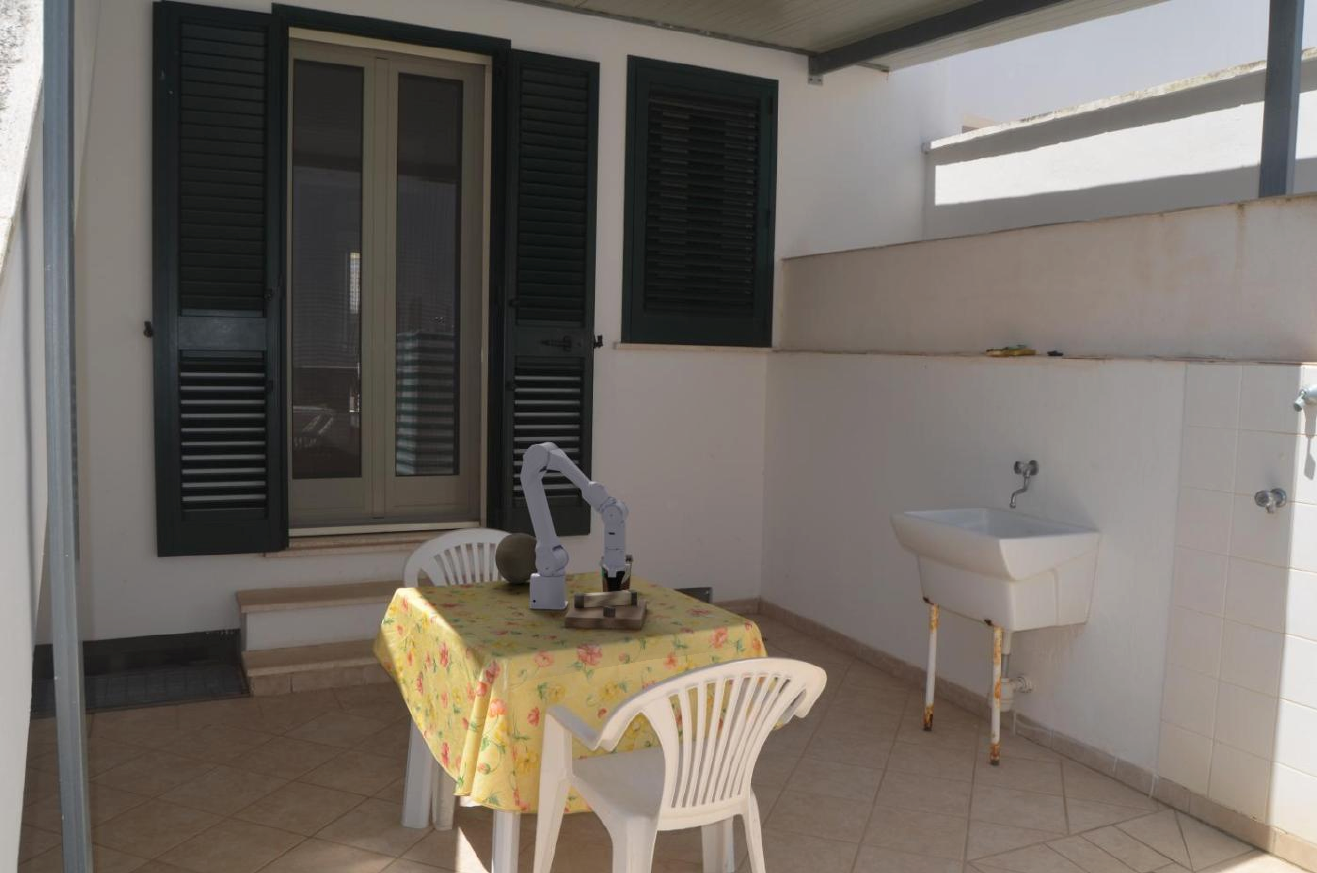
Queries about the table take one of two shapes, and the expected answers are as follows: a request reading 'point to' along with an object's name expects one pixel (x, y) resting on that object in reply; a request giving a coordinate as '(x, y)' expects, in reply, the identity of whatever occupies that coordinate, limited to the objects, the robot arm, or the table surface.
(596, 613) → the stool seat
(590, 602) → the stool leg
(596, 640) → the table surface
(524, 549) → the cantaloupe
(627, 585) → the food container
